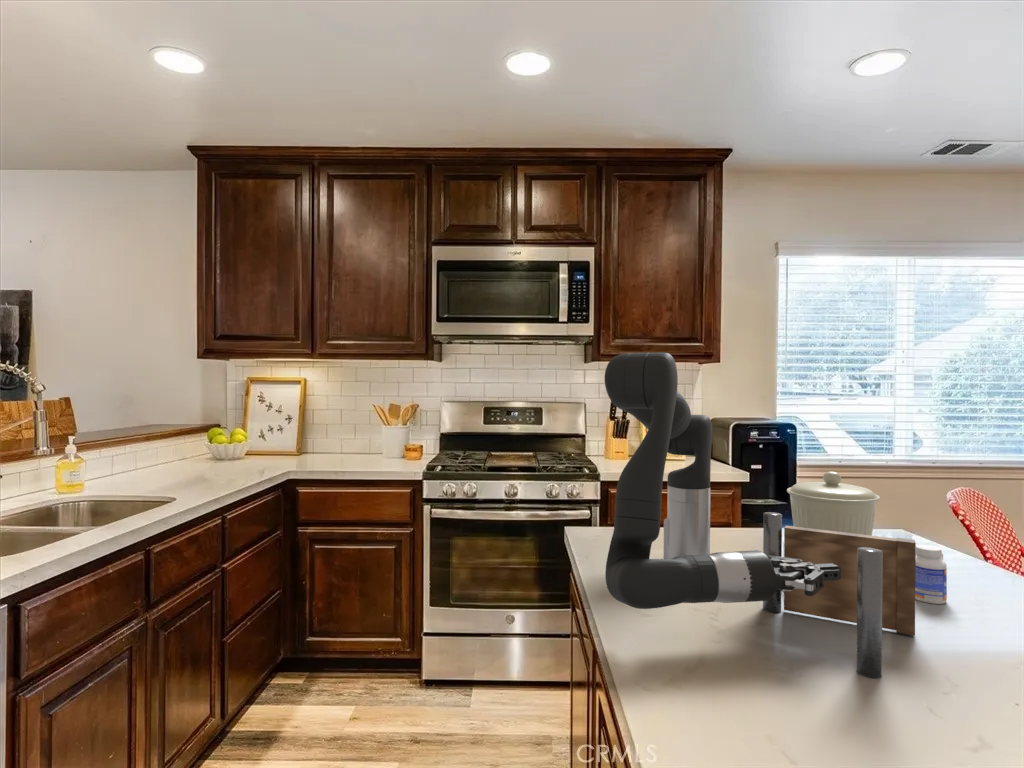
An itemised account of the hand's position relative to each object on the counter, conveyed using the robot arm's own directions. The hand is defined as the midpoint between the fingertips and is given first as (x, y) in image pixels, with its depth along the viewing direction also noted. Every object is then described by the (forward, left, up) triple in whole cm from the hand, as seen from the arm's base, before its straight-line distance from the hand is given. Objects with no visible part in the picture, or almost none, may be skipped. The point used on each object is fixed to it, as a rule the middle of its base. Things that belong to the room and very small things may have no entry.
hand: (837, 571), depth 95 cm
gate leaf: (0, +7, -10) cm, 12 cm away
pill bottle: (+11, +29, -11) cm, 33 cm away
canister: (-7, +40, -11) cm, 42 cm away
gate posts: (-3, -3, -10) cm, 11 cm away
